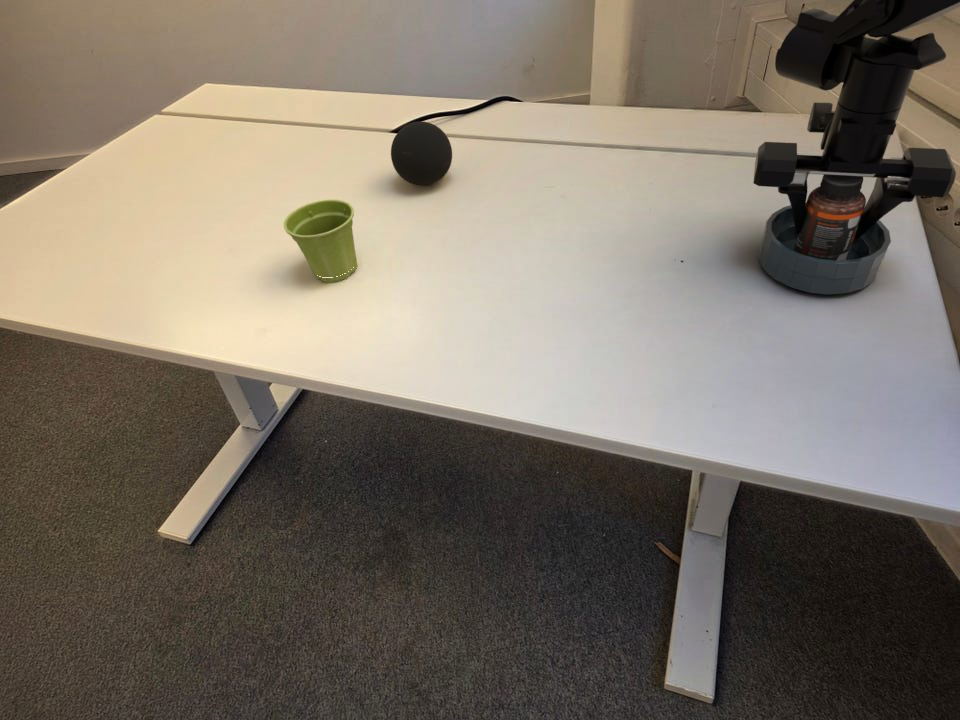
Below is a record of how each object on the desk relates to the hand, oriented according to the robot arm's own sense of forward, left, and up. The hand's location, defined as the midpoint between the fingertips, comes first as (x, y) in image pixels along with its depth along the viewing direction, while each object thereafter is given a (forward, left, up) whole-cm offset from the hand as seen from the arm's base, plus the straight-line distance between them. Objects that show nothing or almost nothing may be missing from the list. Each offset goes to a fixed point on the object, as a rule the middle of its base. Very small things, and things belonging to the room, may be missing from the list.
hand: (826, 234), depth 72 cm
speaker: (+59, -13, -5) cm, 61 cm away
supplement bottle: (0, 0, -4) cm, 4 cm away
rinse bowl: (0, 0, -5) cm, 5 cm away
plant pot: (+62, +13, -5) cm, 64 cm away
